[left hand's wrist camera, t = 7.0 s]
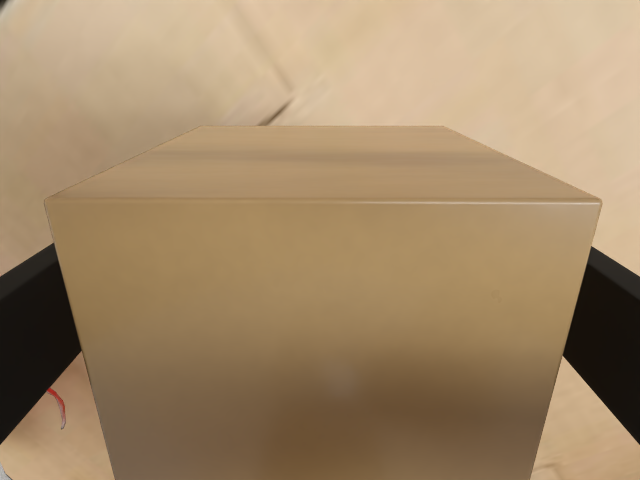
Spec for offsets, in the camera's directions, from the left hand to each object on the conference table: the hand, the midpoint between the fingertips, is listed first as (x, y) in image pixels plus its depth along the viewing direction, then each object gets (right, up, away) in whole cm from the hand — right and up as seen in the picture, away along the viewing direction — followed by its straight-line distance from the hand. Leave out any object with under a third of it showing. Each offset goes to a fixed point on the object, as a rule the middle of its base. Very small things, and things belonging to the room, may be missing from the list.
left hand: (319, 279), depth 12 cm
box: (0, -6, +7) cm, 9 cm away
